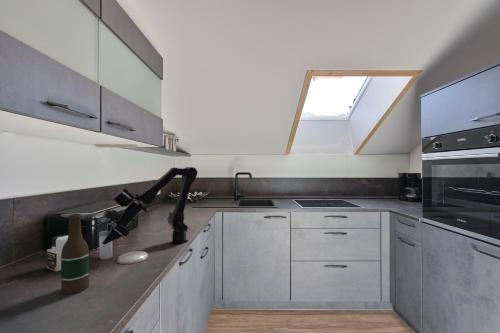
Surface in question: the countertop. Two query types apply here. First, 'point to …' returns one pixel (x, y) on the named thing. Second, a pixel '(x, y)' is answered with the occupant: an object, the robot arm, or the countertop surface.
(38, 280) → the countertop surface
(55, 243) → the medicine bottle
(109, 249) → the grey-topped white cylinder
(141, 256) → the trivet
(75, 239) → the beer bottle
